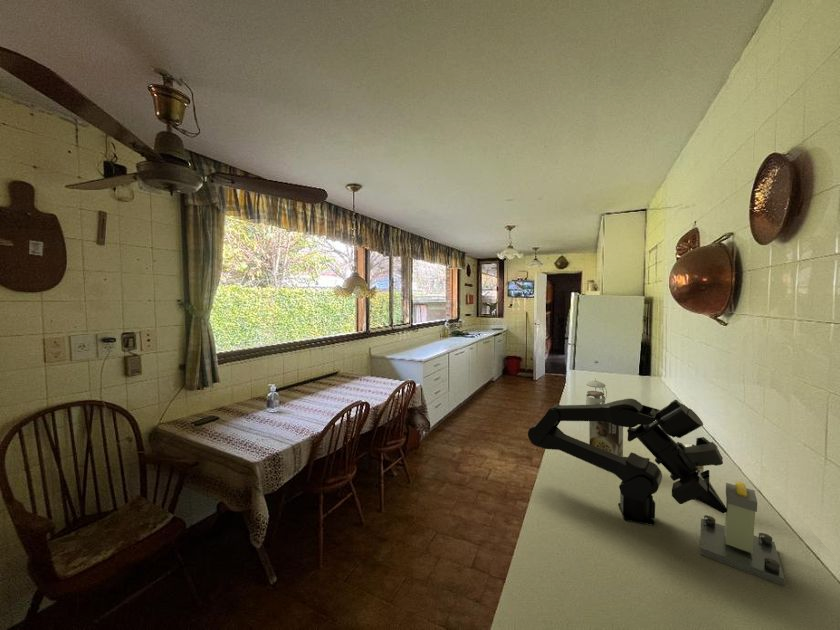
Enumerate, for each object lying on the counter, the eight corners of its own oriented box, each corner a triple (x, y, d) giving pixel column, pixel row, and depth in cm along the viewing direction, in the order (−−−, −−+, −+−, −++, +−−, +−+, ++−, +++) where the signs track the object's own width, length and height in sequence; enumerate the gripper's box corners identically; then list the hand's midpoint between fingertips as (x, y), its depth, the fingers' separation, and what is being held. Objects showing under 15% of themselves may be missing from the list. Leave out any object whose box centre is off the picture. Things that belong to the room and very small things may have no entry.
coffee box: (623, 459, 110) (624, 412, 109) (619, 466, 105) (619, 417, 105) (593, 451, 116) (594, 406, 116) (588, 457, 112) (588, 411, 111)
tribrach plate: (700, 554, 70) (700, 540, 69) (700, 524, 79) (701, 512, 78) (784, 586, 62) (785, 571, 62) (774, 548, 71) (774, 535, 71)
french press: (578, 411, 156) (579, 359, 154) (595, 408, 161) (596, 357, 159) (597, 418, 147) (598, 363, 146) (614, 414, 152) (615, 360, 150)
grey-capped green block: (724, 543, 69) (727, 487, 69) (723, 530, 74) (726, 476, 73) (754, 554, 67) (757, 495, 66) (751, 539, 71) (754, 484, 70)
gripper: (693, 443, 67) (770, 519, 60) (696, 417, 81) (759, 477, 74) (645, 468, 72) (711, 541, 66) (656, 440, 86) (711, 497, 79)
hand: (725, 511), depth 71 cm, fingers closed, pressing on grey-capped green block
